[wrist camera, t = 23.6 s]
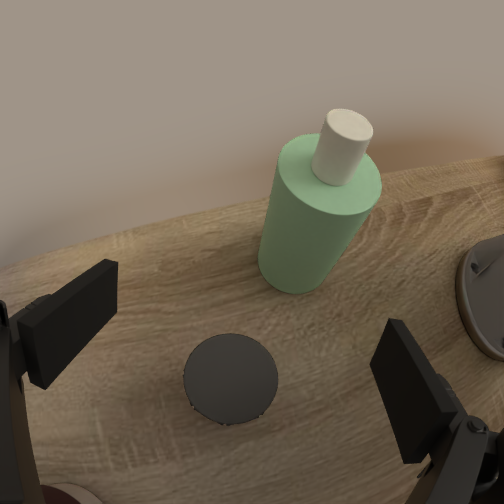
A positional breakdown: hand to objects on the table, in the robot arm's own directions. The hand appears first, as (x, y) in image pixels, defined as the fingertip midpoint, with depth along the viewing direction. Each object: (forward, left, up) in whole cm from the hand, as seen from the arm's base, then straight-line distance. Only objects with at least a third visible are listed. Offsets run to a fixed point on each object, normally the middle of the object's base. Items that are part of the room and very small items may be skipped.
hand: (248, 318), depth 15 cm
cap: (+1, +2, -13) cm, 14 cm away
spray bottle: (-8, -8, -13) cm, 17 cm away
